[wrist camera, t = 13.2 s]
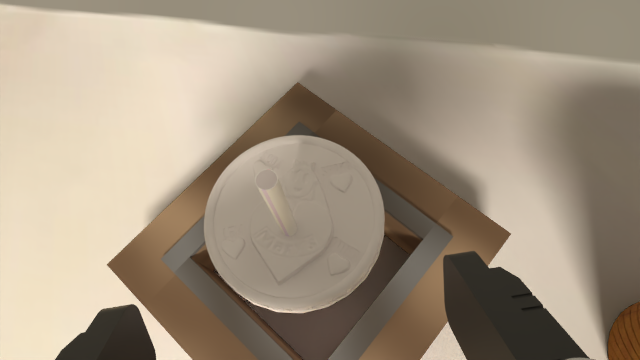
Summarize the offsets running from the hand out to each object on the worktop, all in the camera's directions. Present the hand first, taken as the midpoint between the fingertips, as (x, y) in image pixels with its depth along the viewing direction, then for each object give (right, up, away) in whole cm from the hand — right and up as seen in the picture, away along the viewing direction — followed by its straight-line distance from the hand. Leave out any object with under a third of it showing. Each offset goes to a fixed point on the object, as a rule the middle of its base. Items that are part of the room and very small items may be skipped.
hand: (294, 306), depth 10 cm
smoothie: (0, -2, +12) cm, 12 cm away
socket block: (0, -1, +12) cm, 12 cm away
